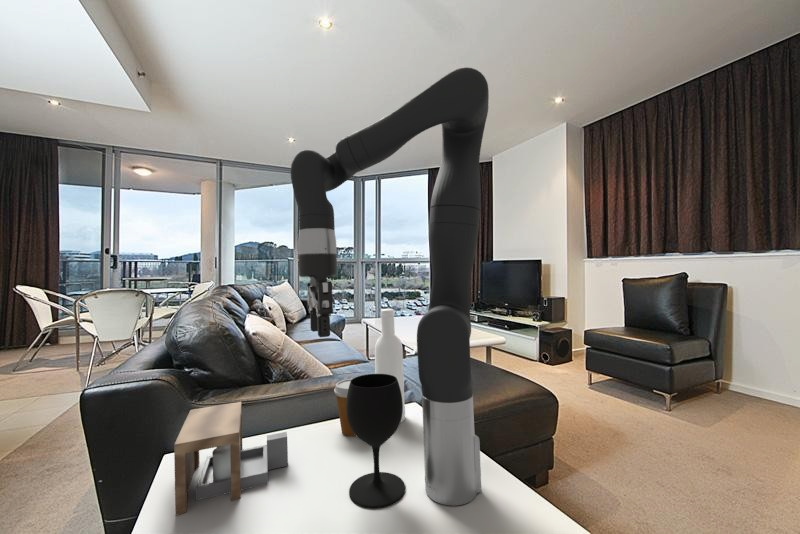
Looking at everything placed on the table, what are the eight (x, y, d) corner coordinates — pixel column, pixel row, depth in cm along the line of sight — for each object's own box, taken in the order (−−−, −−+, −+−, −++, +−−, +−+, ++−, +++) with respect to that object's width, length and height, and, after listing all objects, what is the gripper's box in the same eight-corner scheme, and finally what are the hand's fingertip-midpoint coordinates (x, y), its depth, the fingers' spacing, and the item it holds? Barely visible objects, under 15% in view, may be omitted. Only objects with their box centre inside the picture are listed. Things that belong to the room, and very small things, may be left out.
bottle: (383, 412, 100) (380, 308, 101) (409, 415, 97) (405, 308, 98) (371, 423, 92) (368, 311, 93) (399, 427, 90) (395, 311, 90)
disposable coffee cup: (349, 443, 82) (347, 392, 82) (328, 431, 89) (326, 383, 89) (380, 430, 88) (378, 382, 89) (358, 419, 95) (357, 375, 96)
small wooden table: (242, 454, 78) (241, 401, 79) (240, 498, 62) (239, 432, 63) (191, 465, 74) (190, 409, 75) (175, 515, 58) (174, 444, 59)
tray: (286, 452, 79) (285, 421, 79) (289, 480, 68) (288, 444, 68) (207, 468, 73) (206, 435, 74) (196, 502, 62) (195, 462, 62)
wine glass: (399, 512, 57) (395, 390, 58) (340, 505, 59) (336, 388, 60) (410, 476, 67) (406, 372, 68) (359, 471, 70) (356, 371, 70)
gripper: (344, 250, 65) (347, 337, 64) (328, 255, 78) (330, 327, 77) (303, 250, 62) (306, 341, 61) (294, 255, 75) (296, 330, 74)
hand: (319, 333), depth 69 cm, fingers open, 8 cm apart
